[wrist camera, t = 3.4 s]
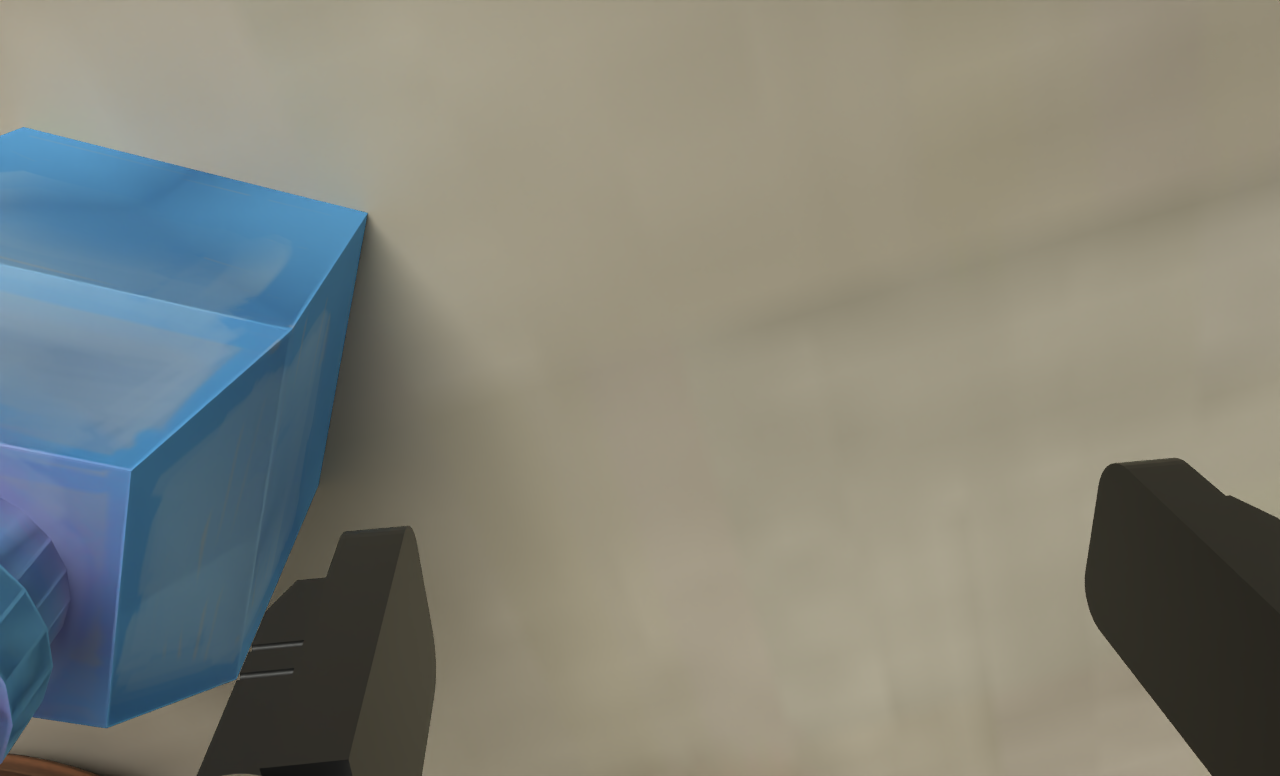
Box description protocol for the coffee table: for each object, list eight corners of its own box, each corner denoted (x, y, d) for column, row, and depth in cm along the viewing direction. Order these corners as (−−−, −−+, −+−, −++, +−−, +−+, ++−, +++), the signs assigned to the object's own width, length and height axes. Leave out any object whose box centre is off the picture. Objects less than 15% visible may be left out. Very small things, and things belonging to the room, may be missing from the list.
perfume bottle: (318, 484, 22) (82, 1043, 11) (11, 423, 21) (-593, 978, 10) (367, 212, 19) (129, 579, 9) (23, 127, 18) (-756, 423, 7)
